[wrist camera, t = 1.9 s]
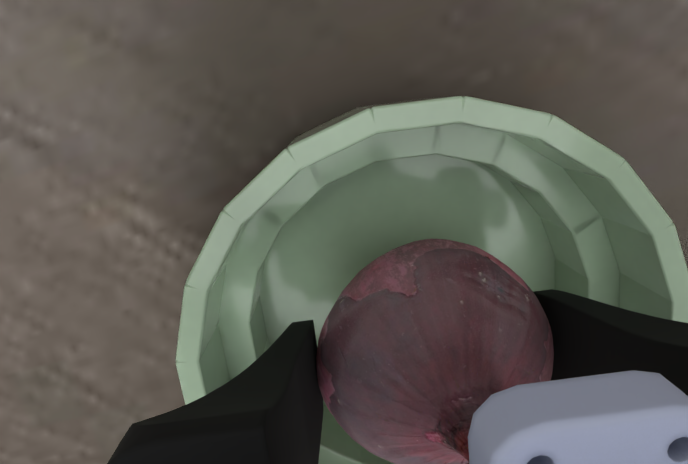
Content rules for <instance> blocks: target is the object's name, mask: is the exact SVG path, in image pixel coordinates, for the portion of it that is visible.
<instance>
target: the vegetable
mask: <svg viewBox="0 0 688 464" xmlns="http://www.w3.org/2000/svg"><path fill="white" fill-rule="evenodd" d="M553 360H554V349H553V337H552V331H551V327H550V324H549V321H548V318H547V316H546V314H545V312H544V310H543V308H542V306H541V304H540V302H539V300H538V299H537V297H536V295H535V294H534V292H533V291H532V290H531V289H530V287H529V286H528V285H527V284H526V283H525V282H524V280H523V279H522V278H521V277H520V276H518V275H517V274H516V273H515V272H514V271H513V270H512V269H510V268H509V267H508V266H507V265H505V264H504V263H503V262H501V261H500V260H498V259H497V258H495V257H494V256H493V255H491V254H489V253H487V252H485V251H484V250H482V249H480V248H478V247H476V246H473V245H469V244H465V243H461V242H457V241H452V240H447V239H424V240H418V241H414V242H411V243H408V244H405V245H402V246H399V247H397V248H395V249H392V250H391V251H389V252H387V253H385V254H383V255H381V256H380V257H378V258H376V259H375V260H374V261H372V262H371V263H369V264H368V265H367V266H365V267H364V268H363V269H362V270H361V271H359V272H358V273H357V274H356V276H355V277H354V278H353V279H352V280H351V281H350V283H349V284H348V285H347V286H346V287H345V288H344V290H343V291H342V292H341V294H340V296H339V297H338V299H337V301H336V302H335V304H334V306H333V307H332V309H331V311H330V313H329V314H328V316H327V318H326V320H325V322H324V325H323V327H322V330H321V333H320V336H319V340H318V347H317V354H316V369H317V379H318V385H319V388H320V391H321V394H322V397H323V400H324V402H325V404H326V406H327V407H328V409H329V411H330V412H331V414H332V415H333V416H334V418H335V419H336V421H337V422H338V424H339V425H340V426H341V427H342V428H343V429H344V431H345V432H346V433H347V434H348V435H349V436H350V437H351V438H352V439H353V440H354V441H356V442H357V443H358V444H360V445H361V446H362V447H364V448H365V449H366V450H368V451H369V452H371V453H372V454H374V455H376V456H378V457H381V458H383V459H385V460H387V461H389V462H392V463H394V464H469V449H468V434H469V429H470V425H471V421H472V417H473V413H474V412H475V411H476V410H477V409H478V408H479V407H480V406H481V405H482V404H483V403H484V402H485V401H486V400H487V399H488V398H489V397H490V396H491V395H492V394H494V393H497V392H500V391H502V390H505V389H508V388H511V387H513V386H516V385H521V384H529V383H537V382H544V381H551V377H552V372H553Z"/></svg>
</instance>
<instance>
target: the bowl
mask: <svg viewBox="0 0 688 464" xmlns="http://www.w3.org/2000/svg"><path fill="white" fill-rule="evenodd" d="M424 239H447V240H452V241H457V242H461V243H465V244H469V245H473V246H476V247H478V248H480V249H482V250H484V251H485V252H487V253H489V254H491V255H493V256H494V257H495V258H497V259H498V260H500V261H501V262H503V263H504V264H505V265H507V266H508V267H509V268H510V269H512V270H513V271H514V272H515V273H516V274H517V275H518V276H520V277H521V278H522V279H523V280H524V282H525V283H526V284H527V285H528V286H529V287H530V289H531V290H532V291H533V292H534V291H542V290H550V289H553V290H560V291H564V292H568V293H572V294H575V295H579V296H582V297H585V298H589V299H592V300H595V301H599V302H602V303H605V304H609V305H612V306H616V307H619V308H623V309H626V310H630V311H634V312H638V313H642V314H646V315H650V316H654V317H659V318H663V319H668V320H674V321H679V322H685V323H688V269H687V265H686V262H685V258H684V255H683V251H682V248H681V245H680V241H679V238H678V234H677V231H676V227H675V225H674V223H673V222H672V220H671V218H670V217H669V216H668V214H667V213H666V212H665V211H664V209H663V208H662V207H661V205H660V204H659V203H658V201H657V200H656V199H655V197H654V196H653V195H652V194H651V192H650V191H649V190H648V188H647V187H646V186H645V184H644V183H643V182H642V180H641V179H640V178H639V176H638V175H637V174H636V173H635V171H634V170H633V169H632V167H631V166H630V165H629V163H628V162H627V161H626V160H624V158H623V157H622V156H620V155H619V154H617V153H615V152H614V151H612V150H610V149H609V148H607V147H606V146H604V145H602V144H601V143H599V142H598V141H596V140H594V139H593V138H591V137H589V136H588V135H586V134H585V133H583V132H581V131H580V130H578V129H576V128H575V127H573V126H572V125H570V124H568V123H567V122H565V121H564V120H562V119H560V118H559V117H557V116H555V115H551V114H550V113H547V112H542V111H537V110H532V109H528V108H523V107H518V106H513V105H508V104H504V103H499V102H494V101H489V100H484V99H479V98H475V97H470V96H449V97H437V98H425V99H416V100H409V101H401V102H393V103H385V104H377V105H369V106H361V107H358V108H355V109H352V110H350V111H348V112H346V113H344V114H342V115H340V116H338V117H336V118H334V119H332V120H330V121H327V122H325V123H323V124H321V125H319V126H317V127H315V128H313V129H311V130H309V131H307V132H305V133H302V134H300V135H299V136H298V137H296V138H295V139H294V140H293V141H292V142H291V143H290V144H289V145H288V146H287V147H286V148H285V149H284V150H283V151H282V152H280V153H279V154H278V155H277V156H276V157H275V158H274V159H273V160H272V161H271V162H270V163H269V164H268V165H267V166H266V167H265V168H264V169H263V170H262V171H261V172H260V173H259V174H258V175H257V176H256V177H255V178H254V179H253V180H252V181H251V182H250V183H249V184H248V185H246V186H245V187H244V188H243V189H242V190H241V191H240V192H239V193H238V194H237V195H236V196H235V197H234V198H233V199H232V200H231V201H230V202H229V203H228V204H227V205H226V206H225V207H224V209H223V210H222V211H221V212H220V214H219V216H218V218H217V220H216V222H215V224H214V226H213V228H212V230H211V232H210V234H209V236H208V238H207V240H206V242H205V244H204V246H203V248H202V250H201V252H200V254H199V256H198V258H197V260H196V262H195V264H194V266H193V268H192V270H191V272H190V274H189V276H188V278H187V280H186V285H185V286H184V291H183V299H182V308H181V316H180V324H179V333H178V341H177V349H176V358H175V359H176V367H177V371H178V376H179V380H180V384H181V388H182V393H183V397H184V401H185V405H187V404H189V403H191V402H193V401H195V400H197V399H199V398H201V397H203V396H205V395H207V394H209V393H210V392H212V391H214V390H215V389H217V388H219V387H221V386H222V385H224V384H226V383H227V382H229V381H230V380H232V379H233V378H234V377H236V376H237V375H239V374H240V373H241V372H243V371H244V370H245V369H246V368H248V367H249V366H250V365H251V364H252V363H253V362H254V361H256V360H257V359H258V358H259V357H260V356H261V355H262V354H263V353H264V352H265V351H266V350H267V349H268V348H269V347H270V346H271V345H272V344H273V343H274V342H275V341H276V340H277V339H278V338H279V336H280V335H281V334H282V333H283V332H284V331H285V330H286V329H287V327H288V326H289V325H290V324H291V323H292V322H298V321H306V320H313V322H314V329H315V335H316V342H317V347H318V340H319V336H320V333H321V330H322V327H323V325H324V322H325V320H326V318H327V316H328V314H329V313H330V311H331V309H332V307H333V306H334V304H335V302H336V301H337V299H338V297H339V296H340V294H341V292H342V291H343V290H344V288H345V287H346V286H347V285H348V284H349V283H350V281H351V280H352V279H353V278H354V277H355V276H356V274H357V273H358V272H359V271H361V270H362V269H363V268H364V267H365V266H367V265H368V264H369V263H371V262H372V261H374V260H375V259H376V258H378V257H380V256H381V255H383V254H385V253H387V252H389V251H391V250H392V249H395V248H397V247H399V246H402V245H405V244H408V243H411V242H414V241H418V240H424ZM318 464H394V463H392V462H389V461H387V460H385V459H383V458H381V457H378V456H376V455H374V454H372V453H371V452H369V451H368V450H366V449H365V448H364V447H362V446H361V445H360V444H358V443H357V442H356V441H354V440H353V439H352V438H351V437H350V436H349V435H348V434H347V433H346V432H345V431H344V429H343V428H342V427H341V426H340V425H339V424H338V422H337V421H336V419H335V418H334V416H333V415H332V414H331V412H330V411H329V409H328V407H327V406H326V404H325V402H324V400H323V422H322V432H321V442H320V452H319V462H318Z"/></svg>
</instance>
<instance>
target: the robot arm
mask: <svg viewBox="0 0 688 464" xmlns="http://www.w3.org/2000/svg"><path fill="white" fill-rule="evenodd" d="M534 294H535V295H536V297H537V299H538V300H539V302H540V304H541V306H542V308H543V310H544V312H545V314H546V316H547V318H548V321H549V324H550V327H551V331H552V337H553V349H554V360H553V372H552V377H551V381H544V382H537V383H529V384H521V385H516V386H513V387H511V388H508V389H505V390H502V391H500V392H497V393H494V394H492V395H491V396H490V397H489V398H488V399H487V400H486V401H485V402H484V403H483V404H482V405H481V406H480V407H479V408H478V409H477V410H476V411H475V412H474V413H473V417H472V421H471V425H470V429H469V434H468V449H469V464H688V323H685V322H679V321H674V320H668V319H663V318H659V317H654V316H650V315H646V314H642V313H638V312H634V311H630V310H626V309H623V308H619V307H616V306H612V305H609V304H605V303H602V302H599V301H595V300H592V299H589V298H585V297H582V296H579V295H575V294H572V293H568V292H564V291H560V290H553V289H550V290H542V291H534ZM316 354H317V342H316V335H315V329H314V322H313V320H306V321H298V322H292V323H291V324H290V325H289V326H288V327H287V329H286V330H285V331H284V332H283V333H282V334H281V335H280V336H279V338H278V339H277V340H276V341H275V342H274V343H273V344H272V345H271V346H270V347H269V348H268V349H267V350H266V351H265V352H264V353H263V354H262V355H261V356H260V357H259V358H258V359H257V360H256V361H254V362H253V363H252V364H251V365H250V366H249V367H248V368H246V369H245V370H244V371H243V372H241V373H240V374H239V375H237V376H236V377H234V378H233V379H232V380H230V381H229V382H227V383H226V384H224V385H222V386H221V387H219V388H217V389H215V390H214V391H212V392H210V393H209V394H207V395H205V396H203V397H201V398H199V399H197V400H195V401H193V402H191V403H189V404H187V405H184V406H182V407H180V408H177V409H175V410H172V411H170V412H167V413H164V414H161V415H158V416H155V417H152V418H149V419H146V420H144V421H141V422H137V423H134V424H132V425H131V427H130V428H129V430H128V431H127V433H126V434H125V436H124V437H123V439H122V440H121V442H120V444H119V445H118V447H117V449H116V450H115V452H114V454H113V455H112V457H111V458H110V460H109V462H108V463H107V464H318V462H319V452H320V442H321V432H322V422H323V397H322V394H321V391H320V388H319V385H318V379H317V369H316Z"/></svg>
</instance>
